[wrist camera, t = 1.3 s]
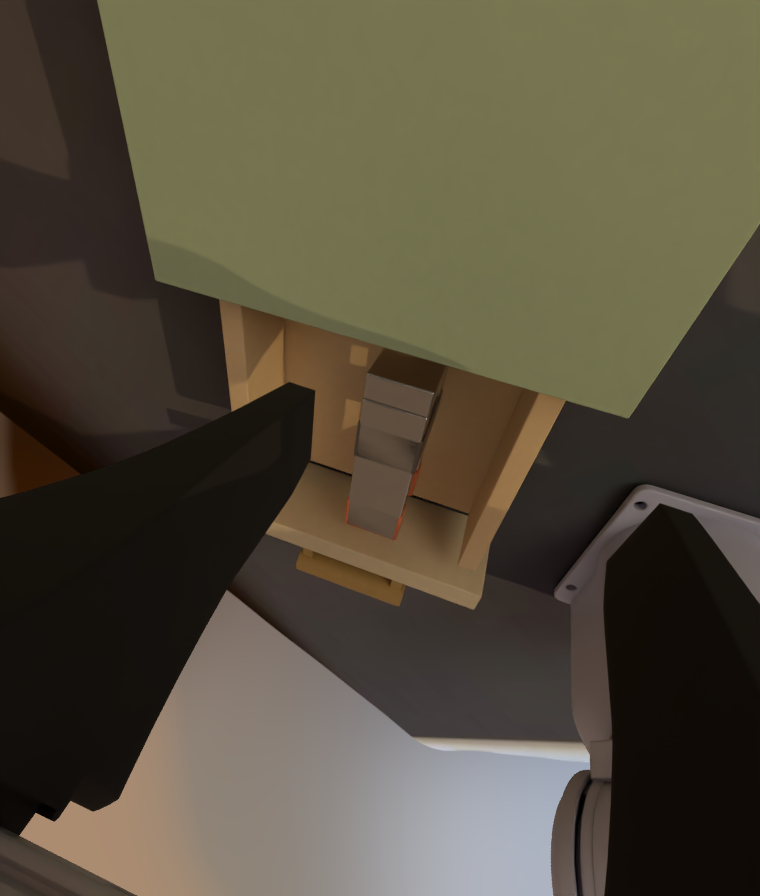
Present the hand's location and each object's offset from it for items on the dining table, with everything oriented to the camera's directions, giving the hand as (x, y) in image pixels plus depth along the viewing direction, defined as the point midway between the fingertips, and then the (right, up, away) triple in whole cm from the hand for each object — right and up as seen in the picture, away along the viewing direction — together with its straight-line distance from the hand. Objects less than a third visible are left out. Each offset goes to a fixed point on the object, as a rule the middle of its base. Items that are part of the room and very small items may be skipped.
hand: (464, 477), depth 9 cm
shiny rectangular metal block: (-1, +2, +9) cm, 9 cm away
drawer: (-1, +2, +11) cm, 11 cm away
